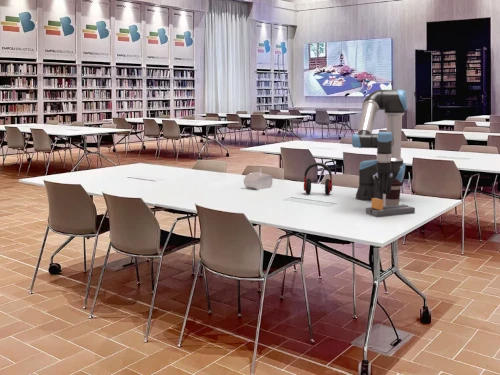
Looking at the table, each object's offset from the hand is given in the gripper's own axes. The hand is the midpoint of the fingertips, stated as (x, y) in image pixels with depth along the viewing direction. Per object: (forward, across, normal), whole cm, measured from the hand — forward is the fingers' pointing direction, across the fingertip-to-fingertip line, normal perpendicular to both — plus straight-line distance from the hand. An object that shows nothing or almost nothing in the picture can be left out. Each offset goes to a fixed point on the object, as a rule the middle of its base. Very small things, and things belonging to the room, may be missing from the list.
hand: (382, 205), depth 321 cm
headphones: (+5, -3, +66) cm, 66 cm away
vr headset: (+5, -28, +104) cm, 108 cm away
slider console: (+4, +5, 0) cm, 7 cm away
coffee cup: (+5, +18, +17) cm, 25 cm away
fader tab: (+3, -3, 0) cm, 5 cm away
